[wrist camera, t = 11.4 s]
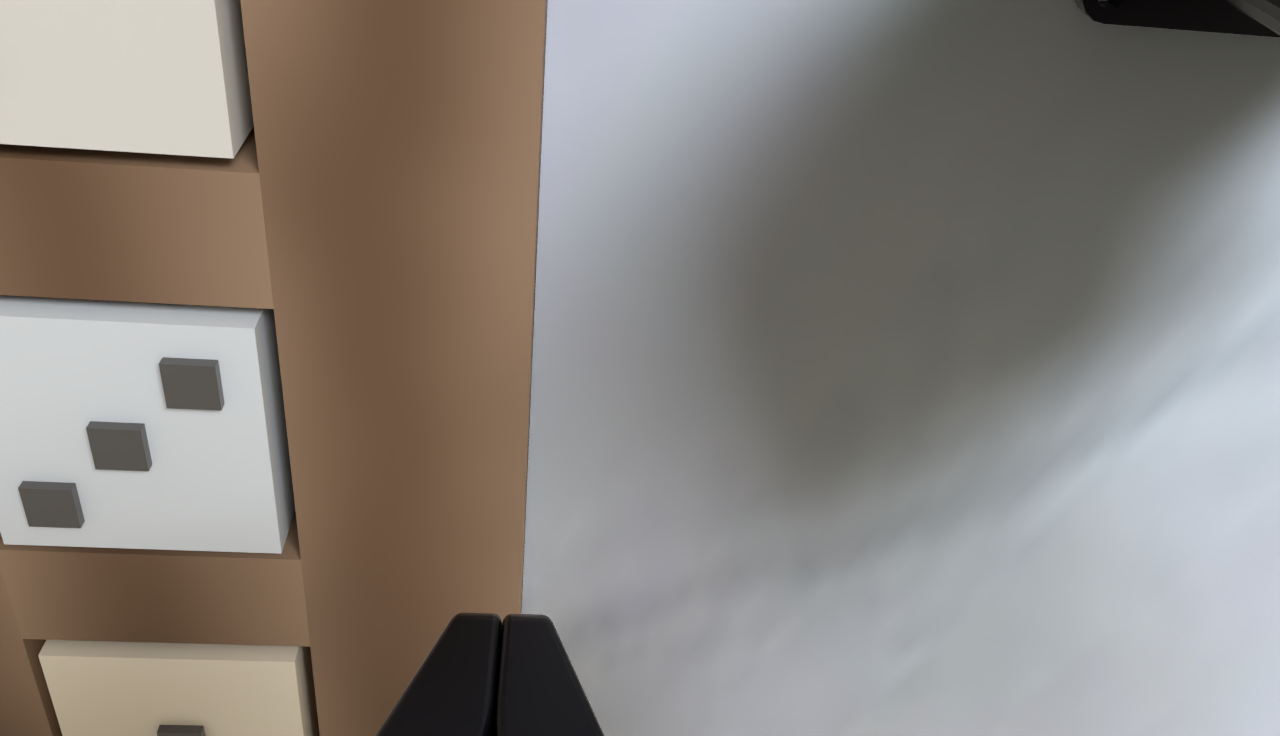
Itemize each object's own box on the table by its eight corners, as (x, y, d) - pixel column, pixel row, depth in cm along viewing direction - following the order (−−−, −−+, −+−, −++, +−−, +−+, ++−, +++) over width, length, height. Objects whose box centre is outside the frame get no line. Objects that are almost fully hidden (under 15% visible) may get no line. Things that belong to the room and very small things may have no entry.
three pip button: (293, 242, 21) (250, 335, 18) (313, 454, 24) (279, 560, 21) (11, 226, 20) (-73, 319, 18) (65, 444, 23) (-1, 551, 21)
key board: (561, -334, 16) (558, -323, 14) (515, 742, 29) (510, 846, 27) (-498, -442, 15) (-713, -452, 12) (-45, 731, 28) (-105, 839, 26)
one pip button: (322, 558, 25) (292, 670, 23) (336, 705, 28) (310, 819, 25) (92, 551, 25) (33, 663, 22) (129, 700, 28) (81, 816, 25)
